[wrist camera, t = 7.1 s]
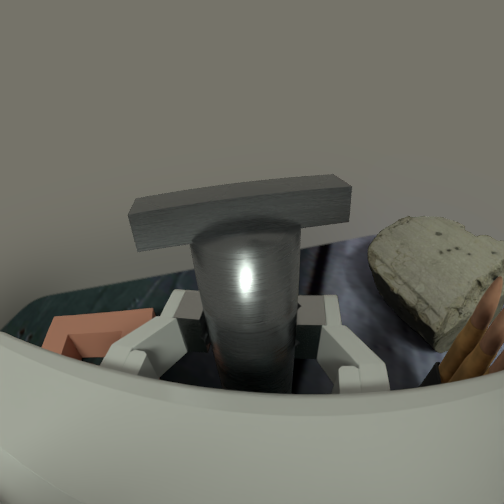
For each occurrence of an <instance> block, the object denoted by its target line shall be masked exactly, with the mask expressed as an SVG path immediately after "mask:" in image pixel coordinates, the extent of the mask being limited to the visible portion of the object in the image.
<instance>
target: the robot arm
mask: <svg viewBox="0 0 504 504" xmlns="http://www.w3.org/2000/svg"><path fill="white" fill-rule="evenodd" d="M210 344H211V341H210V337H209V333H208V328H207V324H206V320H205V315H204V311H203V307H202V302H201V297H200V293H199V291H192V290H178V289H176V290H174V291H173V292H172V294H171V296H170V298H169V300H168V302H167V304H166V306H165V307H164V309H163V311H162V313H161V315H160V316H156V317H154V318H153V319H151V320H150V321H148V322H146V323H145V324H143V325H142V326H140V327H139V328H137V329H135V330H134V331H132V332H131V333H129V334H127V335H126V336H124V337H123V338H121V339H120V340H118V341H116V342H115V343H113V344H112V345H111V347H110V349H109V350H108V352H107V354H106V356H105V357H104V359H103V361H102V363H101V364H100V366H98V365H94V364H90V363H87V362H83V361H80V360H77V359H74V358H70V357H67V356H64V355H61V354H58V353H55V352H52V351H49V350H47V349H44V348H41V347H38V346H36V345H33V344H30V343H28V342H25V341H23V340H20V339H18V338H15V337H13V336H11V335H9V334H7V333H4V332H0V504H504V370H502V371H498V372H494V373H491V374H487V375H483V376H478V377H474V378H470V379H465V380H460V381H455V382H450V383H444V384H438V385H432V386H425V387H418V388H411V389H402V390H393V391H390V386H389V380H388V375H387V370H386V366H385V363H384V362H383V361H382V360H381V359H380V358H379V357H378V356H377V355H376V354H375V353H374V352H373V351H372V350H371V349H370V348H368V347H367V346H366V345H365V344H364V343H363V342H362V341H361V340H360V339H359V338H358V337H357V336H356V335H355V334H354V333H353V332H352V331H351V330H350V329H349V328H348V327H347V326H342V323H341V316H340V310H339V303H338V297H337V295H298V308H297V316H296V333H295V351H294V358H301V359H317V361H318V363H319V364H320V366H321V367H322V368H323V370H324V371H325V373H326V374H327V375H328V377H329V378H330V380H331V381H332V383H333V384H334V386H333V389H332V393H331V394H277V393H259V392H246V391H235V390H225V389H216V388H208V387H201V386H193V385H187V384H181V383H175V382H169V381H163V380H159V377H160V376H162V375H163V374H164V373H165V372H166V371H167V370H168V369H169V368H170V367H171V366H173V365H174V364H175V363H176V362H177V361H178V360H179V359H180V358H181V357H182V356H184V355H185V354H186V353H187V351H194V352H206V353H208V351H209V347H210Z"/></svg>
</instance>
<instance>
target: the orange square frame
mask: <svg viewBox="0 0 504 504" xmlns="http://www.w3.org/2000/svg"><path fill="white" fill-rule="evenodd" d="M154 317H156V315H155V312H154V309H153V308H147V309H137V310H128V311H117V312H107V313H96V314H84V315H71V316H57V317H54V319H53V321H52V323H51V326H50V328H49V330H48V333H47V335H46V338H45V340H44V343H43V345H42V348H44V349H47V350H49V351H52V352H55V353H58V354H61V355H64V356H67V357H70V358H74V359H77V360H80V361H81V360H82V358H85V357H105V356H106V354H107V352H108V350H109V349H110V347H111V345H112V344H113V343H115V342H116V341H118V340H120V339H121V338H123V337H124V336H126V335H127V334H129V333H131V332H132V331H134V330H135V329H137V328H139V327H140V326H142V325H143V324H145V323H146V322H148V321H150V320H151V319H153V318H154ZM159 380H160V377H159Z"/></svg>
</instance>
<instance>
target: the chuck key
mask: <svg viewBox="0 0 504 504" xmlns="http://www.w3.org/2000/svg"><path fill="white" fill-rule="evenodd" d="M351 192H352V186H351V185H349V184H348V183H346V182H345V181H343V180H341V179H340V178H338V177H337V176H335V175H334V174H331V175H317V176H303V177H291V178H280V179H269V180H261V181H250V182H242V183H234V184H226V185H218V186H210V187H203V188H197V189H189V190H183V191H177V192H171V193H165V194H158V195H153V196H147V197H141V198H136V199H135V201H134V204H133V205H132V207H131V209H130V211H129V213H128V218H129V221H130V225H131V229H132V233H133V237H134V241H135V244H136V248H137V251H138V252H141V251H147V250H154V249H159V248H166V247H172V246H180V245H186V244H190V248H191V253H192V258H193V264H194V269H195V274H196V278H197V283H198V288H199V293H200V297H201V302H202V307H203V311H204V315H205V320H206V324H207V328H208V333H209V337H210V341H211V345H212V349H213V353H214V357H215V361H216V365H217V369H218V373H219V377H220V381H221V384H222V388H223V389H225V390H235V391H246V392H259V393H277V394H291V389H292V378H293V366H294V351H295V333H296V316H297V308H298V289H299V266H300V235H301V228H306V227H313V226H321V225H329V224H337V223H343V222H349V215H350V204H351Z"/></svg>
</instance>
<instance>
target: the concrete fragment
mask: <svg viewBox="0 0 504 504" xmlns="http://www.w3.org/2000/svg"><path fill="white" fill-rule="evenodd" d="M368 263H369V267H370V269H371V271H372V274H373V277H374V281H375V284H376V287H377V289H378V291H379V293H380V295H381V296H382V297H383V298H384V300H385V302H386V303H387V304H388V305H389V306H390V307H391V308H392V309H393V310H394V311H395V312H396V313H397V315H398V316H399V317H400V318H401V319H402V320H403V321H405V322H406V323H407V324H408V325H409V326H410V327H411V328H412V329H414V330H415V331H416V332H417V333H419V334H420V335H421V336H422V337H423V338H424V339H425V340H426V341H427V342H428V343H429V344H430V346H431V347H432V348H433V349H434V350H435V351H436V352H438V353H443V352H445V351H449V349H450V347H451V346H452V344H453V342H454V340H455V339H456V337H457V335H458V334H459V333H460V332H461V330H462V329H463V328H464V327H465V326H466V324H467V322H468V320H469V319H470V317H471V316H472V314H473V312H474V310H475V308H476V307H477V305H478V303H479V301H480V300H481V298H482V296H483V295H484V293H485V292H486V290H487V289H488V288H489V286H490V285H491V284H492V283H493V282H494V280H496V279H497V278H498V277H499V276H501V277H502V278H503V285H502V292H501V296H500V300H499V303H498V306H497V309H496V311H495V314H494V316H493V318H492V320H491V322H490V324H491V323H492V322H493V321H494V319H495V318H496V317H497V315H498V314H499V313H500V311H501V310H502V307H503V304H504V241H497V240H495V239H493V238H492V237H490V236H488V235H479V236H477V237H476V236H475V235H473V234H471V233H470V232H468V231H466V230H465V226H464V225H461V224H460V223H458V222H454V221H451V220H448V219H445V218H443V217H425V216H421V217H410V216H408V217H405V218H402V219H399V220H398V221H397V222H395V223H394V224H392V225H390V226H388V227H386V228H385V229H383V230H382V231H380V232H379V234H378V235H377V236H376V238H374V239H373V241H372V243H371V244H370V245H369V247H368ZM490 324H489V325H490Z"/></svg>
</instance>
